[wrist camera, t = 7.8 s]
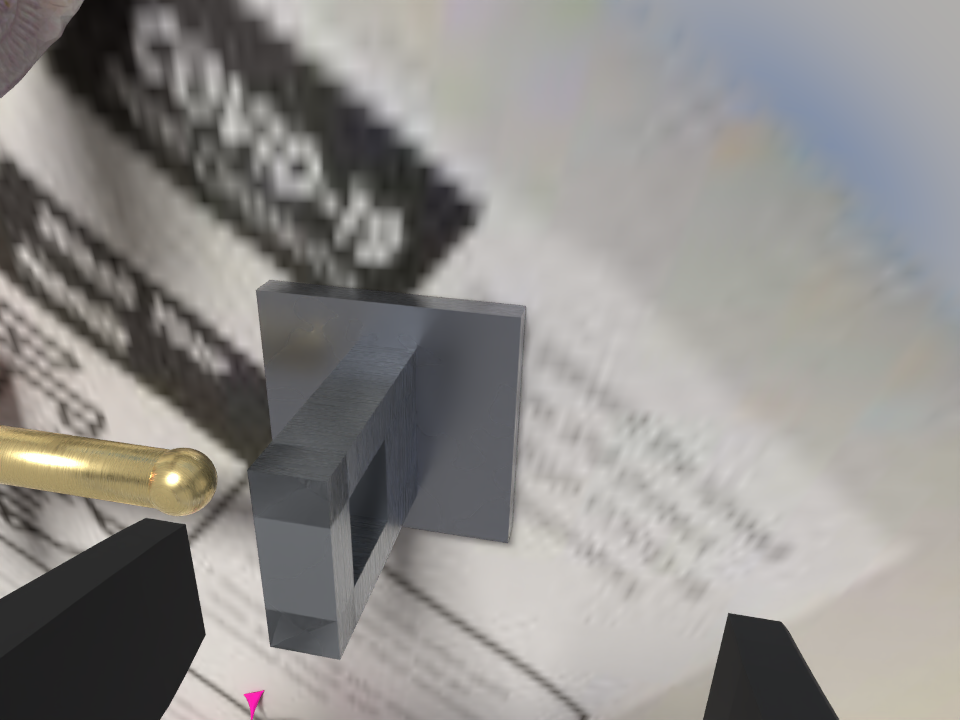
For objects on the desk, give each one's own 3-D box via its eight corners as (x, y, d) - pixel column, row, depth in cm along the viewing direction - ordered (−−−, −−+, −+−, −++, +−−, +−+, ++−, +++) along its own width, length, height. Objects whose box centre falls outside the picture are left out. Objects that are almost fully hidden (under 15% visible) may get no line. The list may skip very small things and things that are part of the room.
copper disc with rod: (264, 300, 19) (86, 437, 13) (287, 515, 22) (150, 708, 16) (-110, 260, 21) (-420, 364, 15) (-43, 463, 24) (-277, 618, 18)
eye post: (525, 305, 19) (470, 446, 13) (512, 525, 22) (462, 722, 16) (269, 279, 20) (107, 397, 14) (291, 492, 23) (165, 664, 17)
